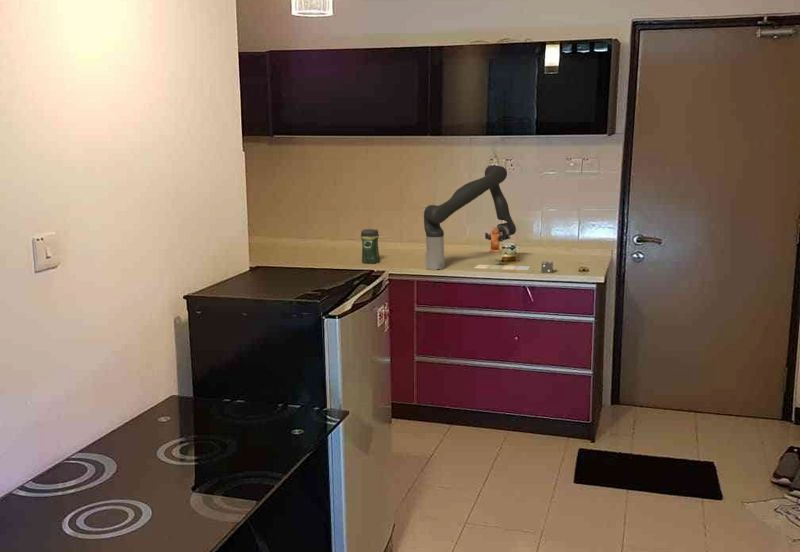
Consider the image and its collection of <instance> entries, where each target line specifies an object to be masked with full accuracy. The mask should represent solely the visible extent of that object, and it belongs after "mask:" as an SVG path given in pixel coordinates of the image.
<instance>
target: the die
mask: <svg viewBox="0 0 800 552" xmlns="http://www.w3.org/2000/svg"><path fill="white" fill-rule="evenodd" d="M553 270H554V261H542V262H541V274H552V273H553V272H554V271H553Z"/></svg>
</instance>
